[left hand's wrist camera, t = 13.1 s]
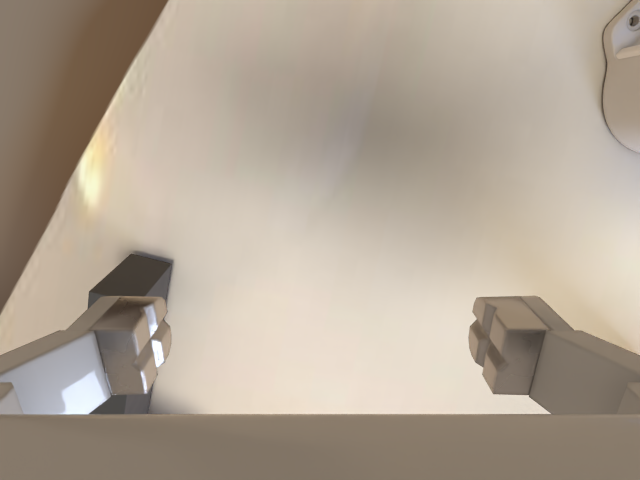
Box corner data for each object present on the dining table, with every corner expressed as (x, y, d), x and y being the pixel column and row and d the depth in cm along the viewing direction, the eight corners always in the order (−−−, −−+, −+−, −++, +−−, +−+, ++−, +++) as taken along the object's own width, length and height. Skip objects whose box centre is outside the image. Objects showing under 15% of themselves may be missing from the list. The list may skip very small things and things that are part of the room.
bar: (131, 253, 43) (88, 291, 35) (171, 263, 44) (139, 303, 36) (110, 429, 53) (73, 489, 45) (144, 435, 54) (113, 497, 46)
